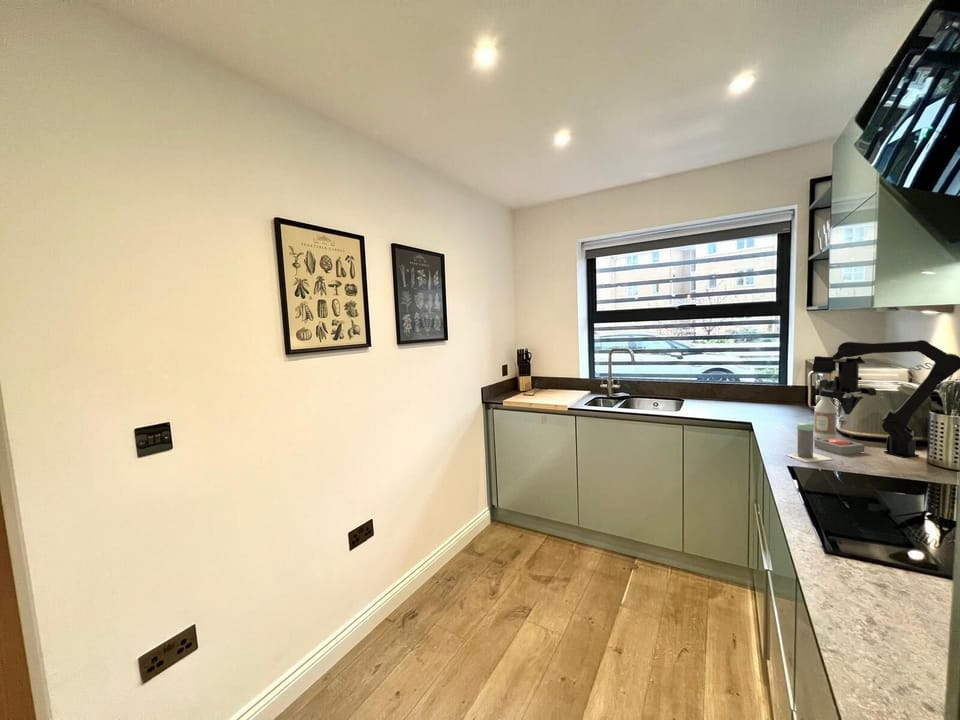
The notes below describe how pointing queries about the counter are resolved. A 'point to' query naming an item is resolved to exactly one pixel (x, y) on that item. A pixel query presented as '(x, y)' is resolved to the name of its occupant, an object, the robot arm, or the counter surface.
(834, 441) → the button
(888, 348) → the robot arm
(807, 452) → the grey green-topped canister
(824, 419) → the bath foam
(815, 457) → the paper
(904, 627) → the counter surface
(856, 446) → the button box
